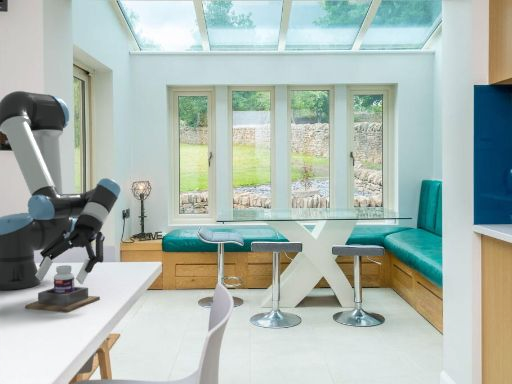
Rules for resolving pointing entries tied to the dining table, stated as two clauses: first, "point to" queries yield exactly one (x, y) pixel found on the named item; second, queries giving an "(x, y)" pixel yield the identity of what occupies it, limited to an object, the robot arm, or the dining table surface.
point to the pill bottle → (63, 280)
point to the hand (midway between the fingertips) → (58, 279)
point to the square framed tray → (62, 300)
